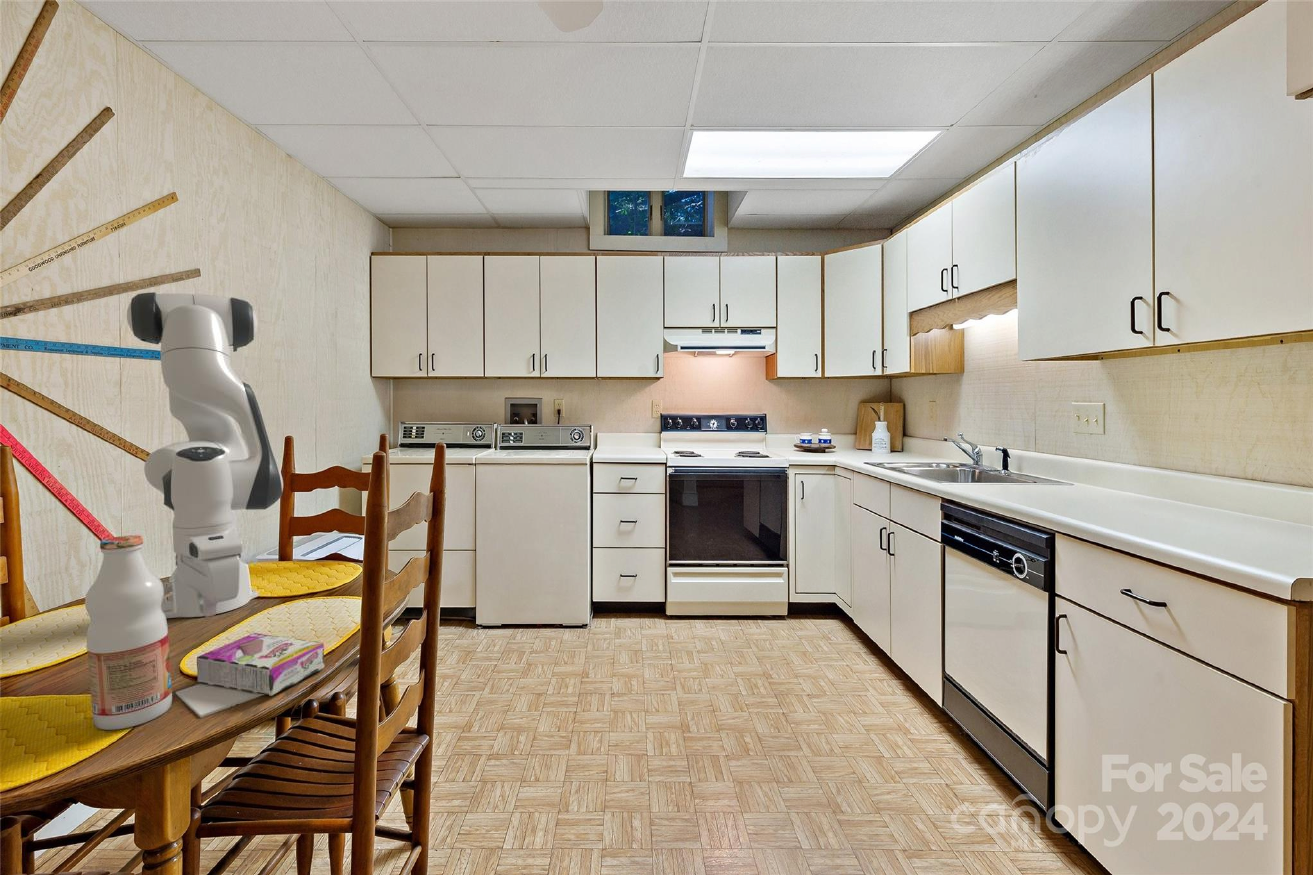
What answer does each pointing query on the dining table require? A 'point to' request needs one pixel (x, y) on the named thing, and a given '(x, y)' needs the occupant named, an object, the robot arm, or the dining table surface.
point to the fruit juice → (127, 639)
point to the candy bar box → (260, 663)
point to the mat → (213, 698)
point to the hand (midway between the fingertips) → (207, 614)
